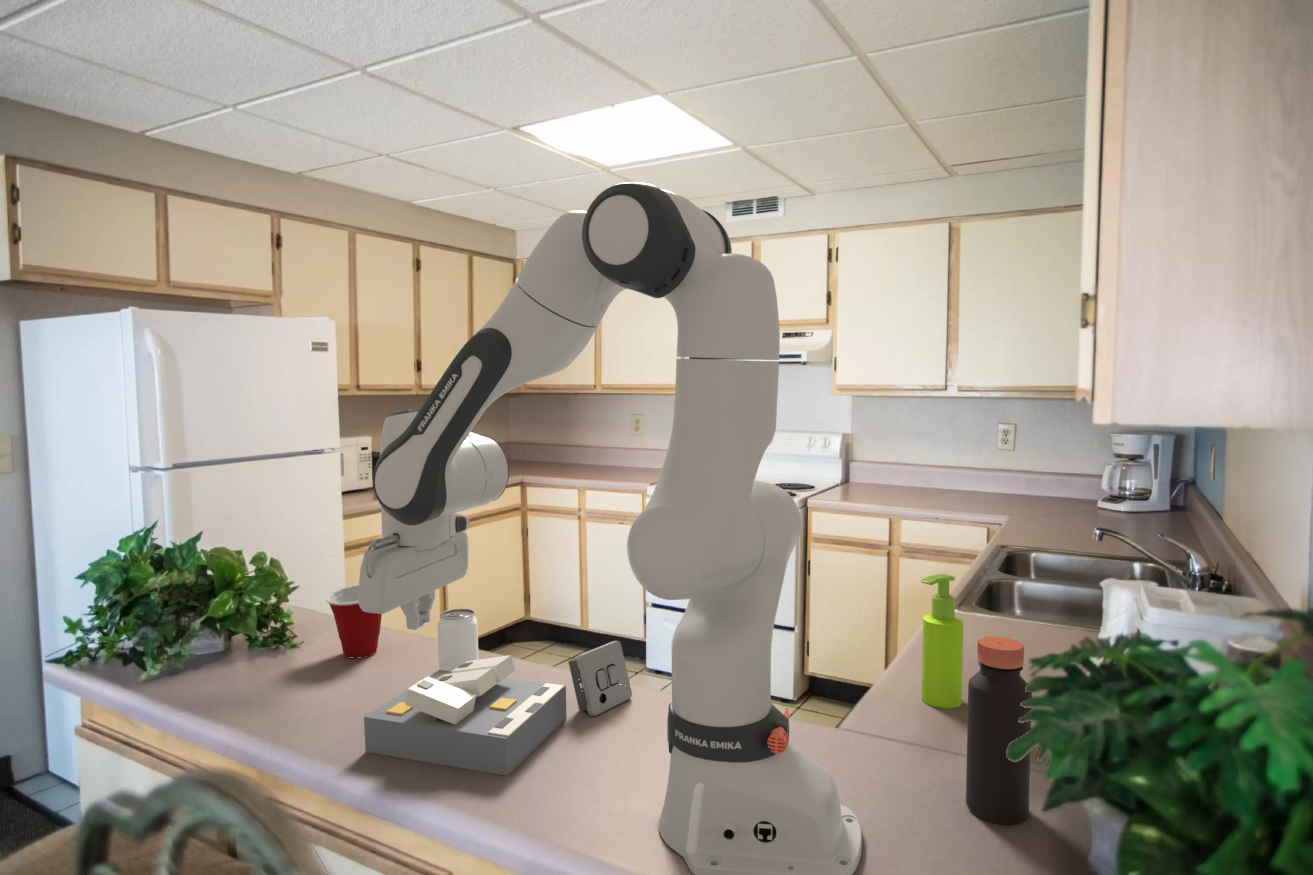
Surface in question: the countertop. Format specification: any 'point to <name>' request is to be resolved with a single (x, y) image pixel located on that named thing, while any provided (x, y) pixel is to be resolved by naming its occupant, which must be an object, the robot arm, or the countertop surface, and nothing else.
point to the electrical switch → (600, 678)
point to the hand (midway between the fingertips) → (418, 626)
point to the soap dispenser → (942, 648)
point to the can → (457, 638)
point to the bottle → (997, 733)
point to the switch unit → (471, 727)
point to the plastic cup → (354, 623)
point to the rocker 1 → (440, 700)
